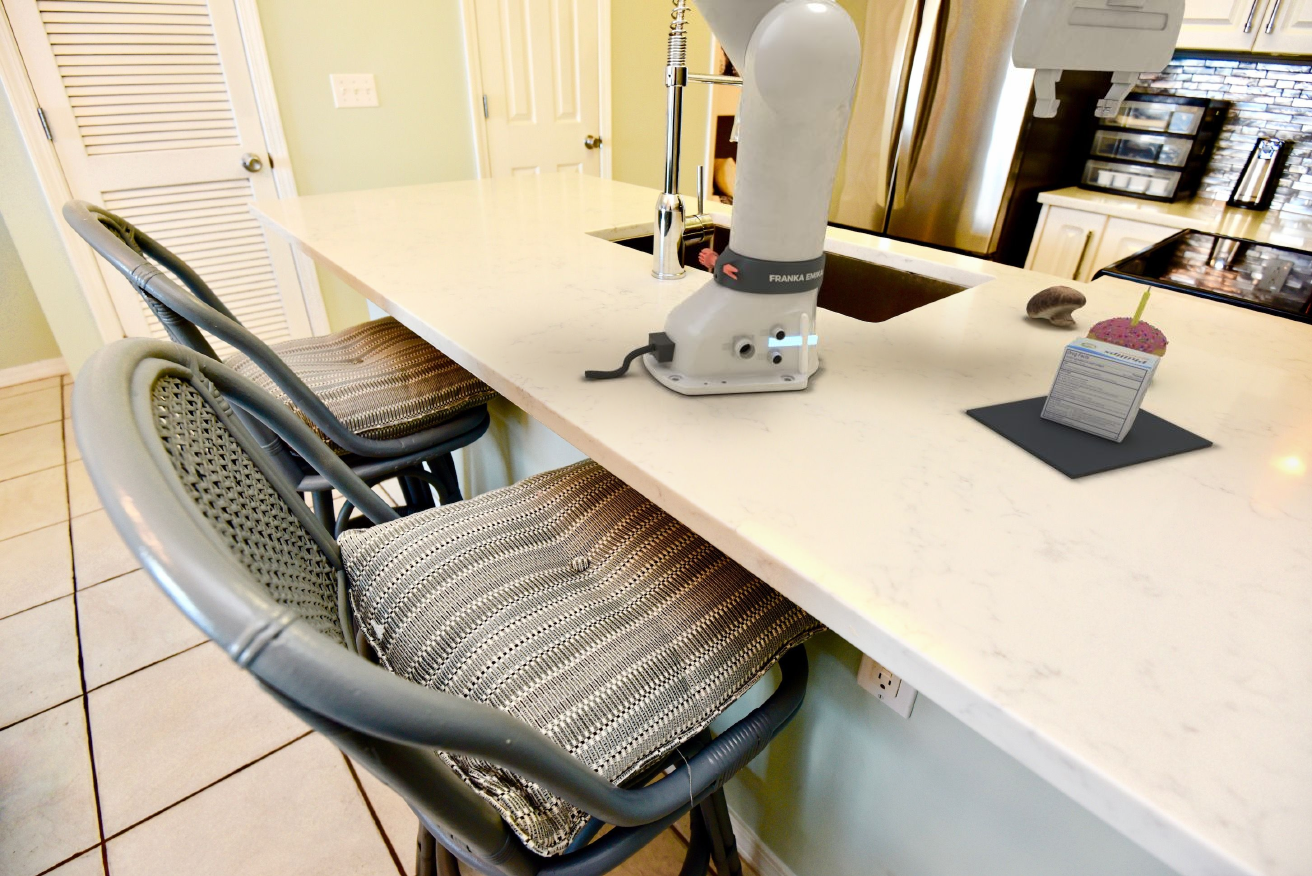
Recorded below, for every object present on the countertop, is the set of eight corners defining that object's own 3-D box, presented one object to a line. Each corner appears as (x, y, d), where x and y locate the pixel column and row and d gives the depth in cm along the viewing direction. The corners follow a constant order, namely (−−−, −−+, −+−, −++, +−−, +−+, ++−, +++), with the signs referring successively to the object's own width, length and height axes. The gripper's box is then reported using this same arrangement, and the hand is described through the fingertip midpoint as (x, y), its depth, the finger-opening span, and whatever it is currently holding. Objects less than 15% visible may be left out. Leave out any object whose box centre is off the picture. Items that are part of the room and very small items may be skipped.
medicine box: (1130, 430, 71) (1163, 356, 67) (1119, 445, 68) (1153, 368, 64) (1051, 405, 76) (1078, 334, 72) (1038, 418, 73) (1065, 344, 69)
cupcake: (1152, 393, 81) (1196, 297, 75) (1073, 376, 84) (1109, 283, 78) (1151, 369, 87) (1190, 279, 81) (1077, 354, 91) (1110, 267, 85)
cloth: (1072, 478, 63) (1073, 475, 63) (965, 413, 75) (966, 409, 74) (1211, 445, 70) (1213, 442, 70) (1094, 389, 81) (1095, 386, 81)
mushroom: (1099, 315, 95) (1088, 274, 96) (1037, 330, 98) (1027, 290, 98) (1085, 325, 102) (1075, 286, 103) (1028, 339, 105) (1018, 301, 106)
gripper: (1161, -23, 74) (1114, 114, 81) (1022, -37, 67) (984, 114, 74) (1220, -28, 69) (1165, 119, 76) (1076, -43, 62) (1030, 119, 69)
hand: (1074, 117), depth 75 cm, fingers open, 8 cm apart
